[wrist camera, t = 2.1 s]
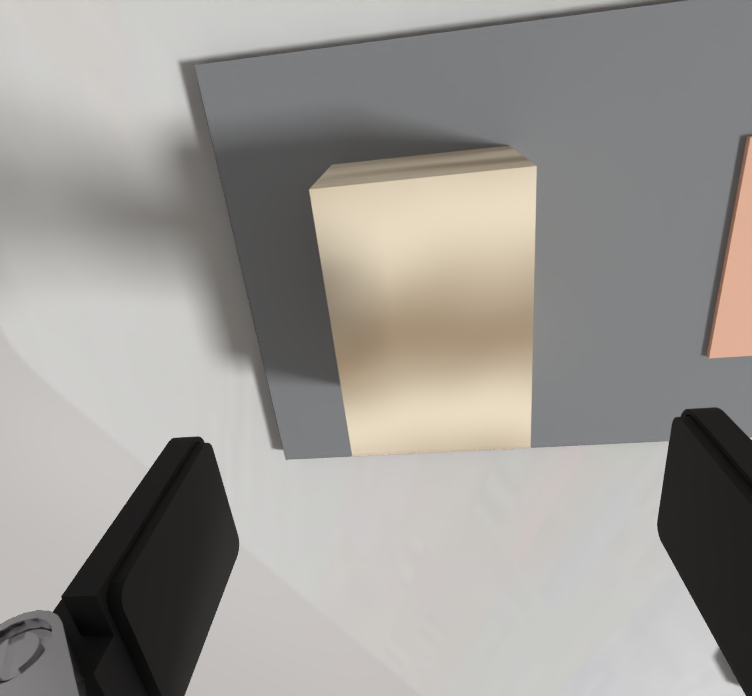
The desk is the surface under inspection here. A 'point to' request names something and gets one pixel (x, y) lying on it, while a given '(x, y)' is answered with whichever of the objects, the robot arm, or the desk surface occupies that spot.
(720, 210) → the mat
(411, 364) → the birch tile
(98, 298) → the desk surface
